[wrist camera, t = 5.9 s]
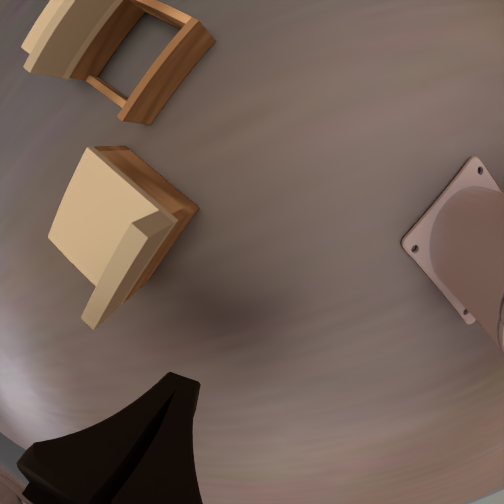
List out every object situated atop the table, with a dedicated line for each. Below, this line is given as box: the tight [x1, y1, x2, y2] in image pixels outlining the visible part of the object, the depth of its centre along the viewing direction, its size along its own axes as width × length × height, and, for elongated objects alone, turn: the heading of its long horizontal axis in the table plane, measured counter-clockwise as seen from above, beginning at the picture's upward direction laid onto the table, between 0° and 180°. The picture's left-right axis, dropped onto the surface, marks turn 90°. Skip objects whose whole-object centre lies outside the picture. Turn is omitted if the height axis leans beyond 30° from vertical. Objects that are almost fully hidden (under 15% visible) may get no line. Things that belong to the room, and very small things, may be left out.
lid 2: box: [48, 147, 178, 330], centre depth 14 cm, size 7×7×3 cm
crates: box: [70, 0, 215, 302], centre depth 14 cm, size 15×29×3 cm, turn 141°
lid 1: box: [21, 0, 123, 79], centre depth 10 cm, size 7×7×3 cm
